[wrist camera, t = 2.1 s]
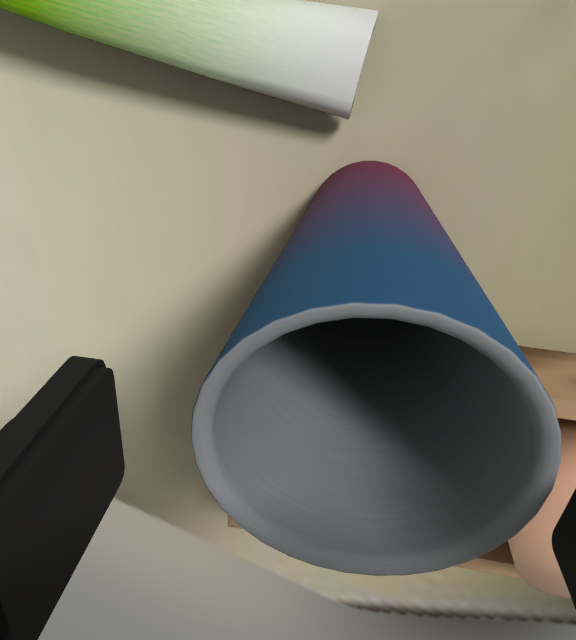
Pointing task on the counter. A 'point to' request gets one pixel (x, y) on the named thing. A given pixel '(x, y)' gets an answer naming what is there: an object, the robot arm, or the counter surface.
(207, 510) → the counter surface
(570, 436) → the peach capsule shape
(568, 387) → the caddy
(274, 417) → the cup
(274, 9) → the leek
